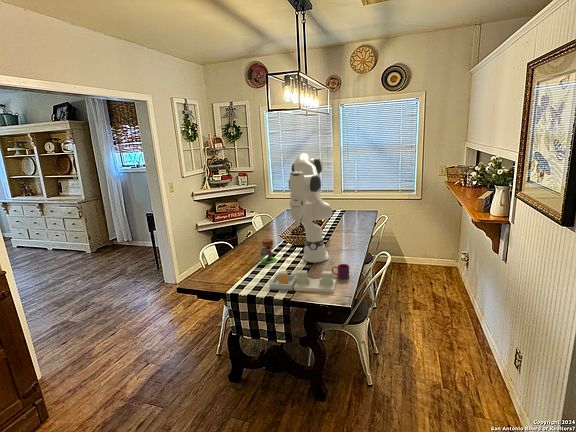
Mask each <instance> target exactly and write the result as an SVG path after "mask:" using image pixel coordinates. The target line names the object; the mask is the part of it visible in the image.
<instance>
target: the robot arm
mask: <svg viewBox="0 0 576 432" xmlns="http://www.w3.org/2000/svg"><path fill="white" fill-rule="evenodd" d="M323 166H324V165H323V161H322V160H321V158H320V157H313V158H311V157H310V155H309V154H308V153H306V152H302V153H299V154H298V155H297V156H296V157H295V160H294V163H292V165H291V172H290V173H289V180H288V190H289V191H290V193H289V194H290V195H289V196H290V198H289V199H290V201H289V207H290V213H291V214H290V215H291V219H292V221H295V226H296V227H300V225H301V224H302V226H303V228H304V229H305V230H304V231H305V238H306V239H305V246H304V247H303V256H301V257H302V258H301V259H302V260H305V261H306V262H308V263H321V262H325V261H328V260H330V255H329V252H328V250H327V249H326V245H325V244H324V239H323V238H324V237H323V229H322V227H321V226H320V225H319V224H317V223H314V222H313V221H318V220H319V221H320V220H322V221H323V220H327V219H330V218H331V217H332V215H333V208H332V206H331V205H330V204H329V203H328V202H326V201H324V199H322V197H321V196H322V195H321V193H320V190H321V188H322V180H321V177H320V174H321V173H322V171H323Z"/></svg>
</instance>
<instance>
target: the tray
mask: <svg viewBox="0 0 576 432" xmlns="http://www.w3.org/2000/svg"><path fill="white" fill-rule="evenodd" d="M297 277H298V274H297V275H296V274H288V281H289V283H288V284H279V279H278V274H275V275H274V277H273V278H272V280H271V281H270V283H269V290H270V291H286V292H289V291H290V292H292V291H293V290H294V286H295V284H296V282H297V280H296V278H297Z"/></svg>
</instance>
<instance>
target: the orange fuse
mask: <svg viewBox="0 0 576 432" xmlns="http://www.w3.org/2000/svg"><path fill="white" fill-rule="evenodd" d="M277 275H278V279H279V284H288V283H289V281H288V275H289V271H287V270H285V271H284V270H279V271H278V273H277Z"/></svg>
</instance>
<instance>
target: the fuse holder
mask: <svg viewBox="0 0 576 432" xmlns="http://www.w3.org/2000/svg"><path fill="white" fill-rule="evenodd" d="M307 277H308V276H307ZM296 280H297V282H296V284H295V286H294V288H293V290H294V292H295V291H296V292H311V293H312V292H314V293H315V292H316V293H334V292H335V290H336V284H337V279H334V278H333V277H332V285H323V281H322V277H320V278H311V277H308V278H307V284H298V276H297V278H296Z"/></svg>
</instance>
